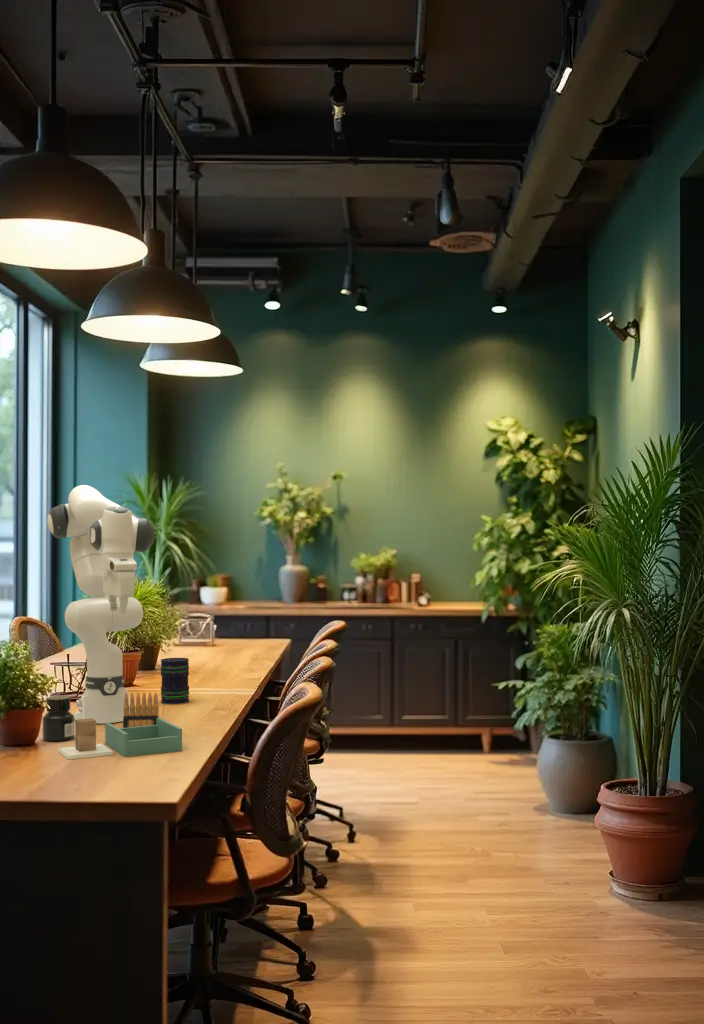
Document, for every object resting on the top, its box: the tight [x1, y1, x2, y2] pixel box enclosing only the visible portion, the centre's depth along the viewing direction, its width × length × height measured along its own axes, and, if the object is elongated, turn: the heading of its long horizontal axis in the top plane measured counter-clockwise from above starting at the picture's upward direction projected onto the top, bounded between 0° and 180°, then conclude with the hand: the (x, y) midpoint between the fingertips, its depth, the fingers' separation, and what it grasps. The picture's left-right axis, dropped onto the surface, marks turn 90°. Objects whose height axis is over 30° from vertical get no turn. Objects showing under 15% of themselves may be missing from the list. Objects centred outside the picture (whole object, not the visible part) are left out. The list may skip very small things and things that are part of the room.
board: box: [57, 743, 114, 760], centre depth 296 cm, size 12×12×1 cm
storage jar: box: [160, 657, 190, 705], centre depth 383 cm, size 10×10×15 cm
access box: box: [104, 717, 183, 758], centre depth 304 cm, size 20×16×6 cm
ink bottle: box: [42, 695, 75, 742], centre depth 317 cm, size 10×9×12 cm
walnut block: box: [74, 718, 97, 752], centre depth 297 cm, size 4×4×8 cm
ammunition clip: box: [122, 691, 160, 728], centre depth 326 cm, size 11×2×12 cm, turn 92°
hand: (118, 612), depth 311 cm, fingers open, 8 cm apart
